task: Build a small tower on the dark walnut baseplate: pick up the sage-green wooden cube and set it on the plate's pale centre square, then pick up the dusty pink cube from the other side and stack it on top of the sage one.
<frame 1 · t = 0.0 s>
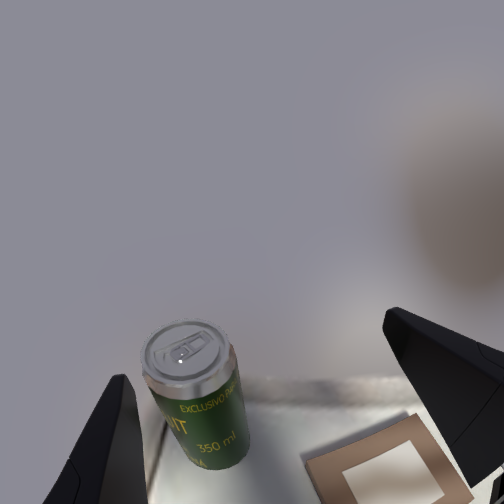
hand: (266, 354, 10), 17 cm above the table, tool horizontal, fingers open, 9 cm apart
tower base: (389, 490, 17), on the table
beer can: (217, 445, 22), on the table
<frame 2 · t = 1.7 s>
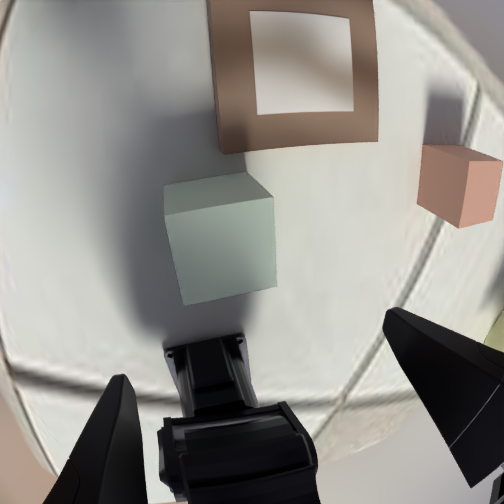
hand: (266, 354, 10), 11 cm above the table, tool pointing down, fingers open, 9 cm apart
tower base: (297, 62, 16), on the table
brick sage: (210, 216, 19), on the table
dusty pink cube: (439, 173, 23), on the table
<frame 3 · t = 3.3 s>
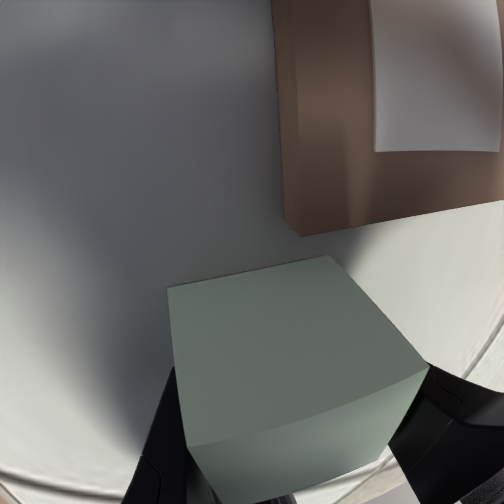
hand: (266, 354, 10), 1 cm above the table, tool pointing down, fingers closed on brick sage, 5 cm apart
tower base: (423, 52, 7), on the table
brick sage: (257, 332, 11), on the table, touching gripper
when the fingers open (3 cm above the table, at t = 7.0 s): brick sage stays where it is, resting on tower base.
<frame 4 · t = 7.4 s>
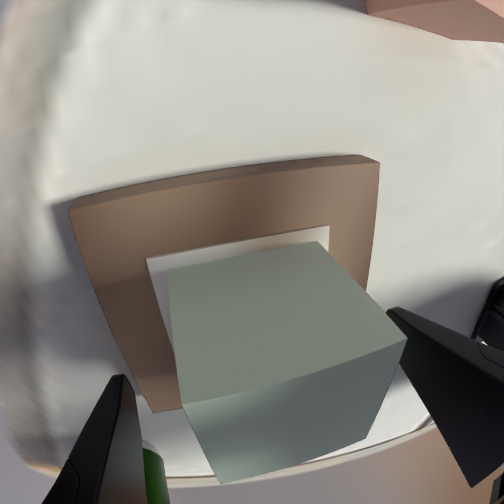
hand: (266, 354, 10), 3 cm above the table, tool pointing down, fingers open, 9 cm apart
tower base: (240, 294, 12), on the table
beer can: (121, 449, 16), on the table
brick sage: (250, 314, 11), point 1 cm above the table, touching tower base
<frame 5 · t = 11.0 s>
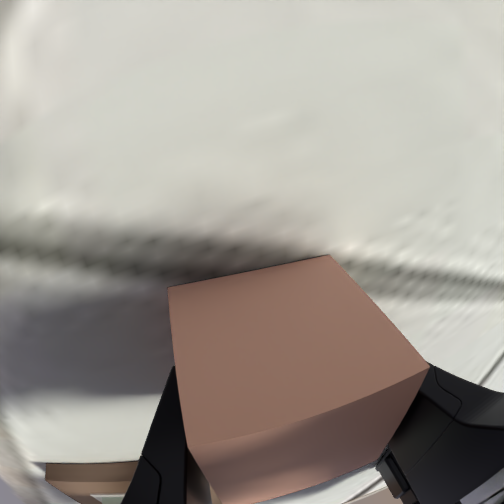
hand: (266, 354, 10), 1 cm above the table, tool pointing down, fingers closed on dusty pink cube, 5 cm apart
tower base: (150, 490, 15), on the table
dusty pink cube: (257, 332, 11), on the table, touching gripper
when the fingers open (8 cm above the table, at t = 14.4 s): dusty pink cube stays where it is, resting on brick sage.
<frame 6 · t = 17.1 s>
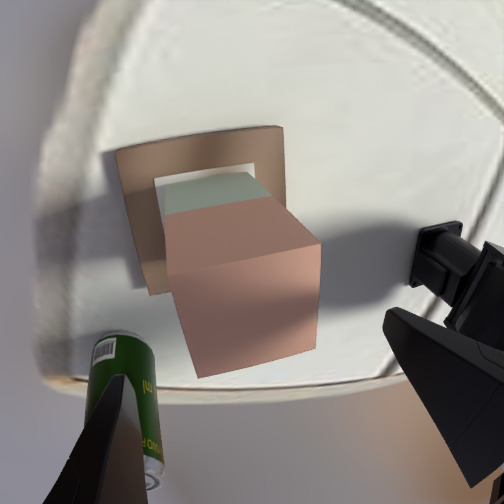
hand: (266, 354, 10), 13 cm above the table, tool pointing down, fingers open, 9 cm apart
tower base: (207, 209, 21), on the table
beer can: (123, 350, 25), on the table
brick sage: (211, 216, 20), point 1 cm above the table, touching dusty pink cube, tower base
dusty pink cube: (226, 253, 15), point 6 cm above the table, touching brick sage
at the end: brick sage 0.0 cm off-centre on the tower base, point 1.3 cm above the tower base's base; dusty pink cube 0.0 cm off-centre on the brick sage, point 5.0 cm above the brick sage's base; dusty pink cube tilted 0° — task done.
